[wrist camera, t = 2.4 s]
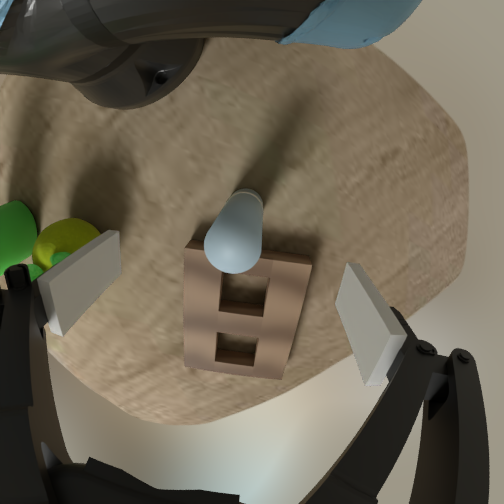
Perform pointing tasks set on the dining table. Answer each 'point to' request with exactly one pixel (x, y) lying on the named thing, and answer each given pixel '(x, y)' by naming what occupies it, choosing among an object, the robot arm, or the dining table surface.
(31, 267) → the fruit
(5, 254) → the bottle
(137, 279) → the dining table surface
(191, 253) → the board
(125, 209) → the dining table surface
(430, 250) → the dining table surface
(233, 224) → the peg
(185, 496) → the robot arm
